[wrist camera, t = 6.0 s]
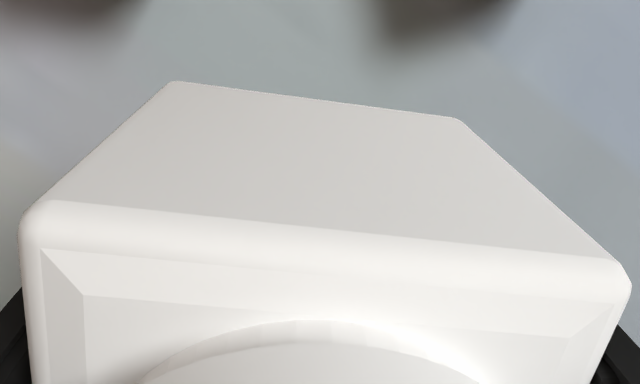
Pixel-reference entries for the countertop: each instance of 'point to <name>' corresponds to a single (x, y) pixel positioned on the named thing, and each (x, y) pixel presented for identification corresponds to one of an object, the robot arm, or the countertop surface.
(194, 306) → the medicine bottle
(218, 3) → the countertop surface
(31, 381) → the robot arm
